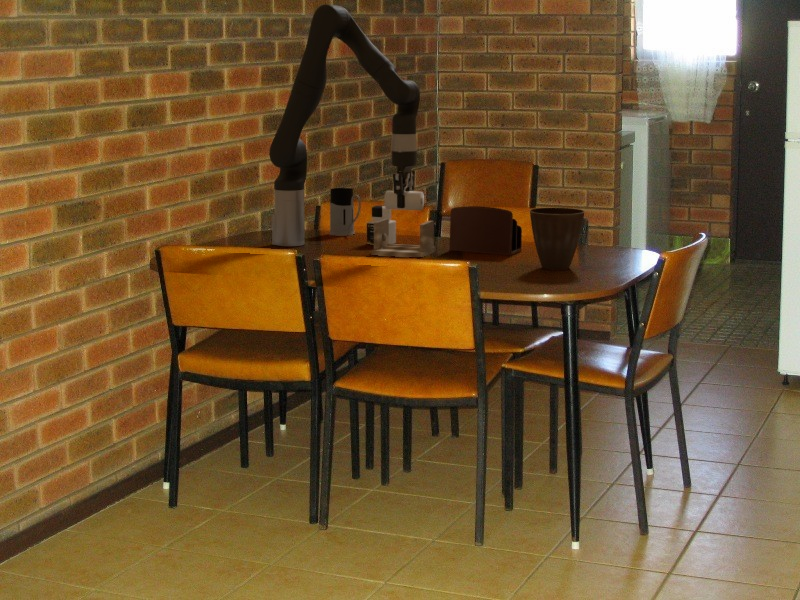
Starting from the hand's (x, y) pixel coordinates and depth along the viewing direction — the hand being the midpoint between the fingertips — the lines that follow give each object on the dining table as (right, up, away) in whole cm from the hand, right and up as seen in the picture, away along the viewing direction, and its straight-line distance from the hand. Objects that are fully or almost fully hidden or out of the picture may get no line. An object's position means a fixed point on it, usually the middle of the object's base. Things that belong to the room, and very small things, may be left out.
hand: (404, 206), depth 357 cm
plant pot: (+42, -19, -23) cm, 51 cm away
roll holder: (0, -14, +3) cm, 14 cm away
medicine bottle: (-7, -10, +23) cm, 26 cm away
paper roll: (0, +2, 0) cm, 2 cm away
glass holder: (-19, -6, +43) cm, 47 cm away
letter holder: (+25, -13, +9) cm, 29 cm away
